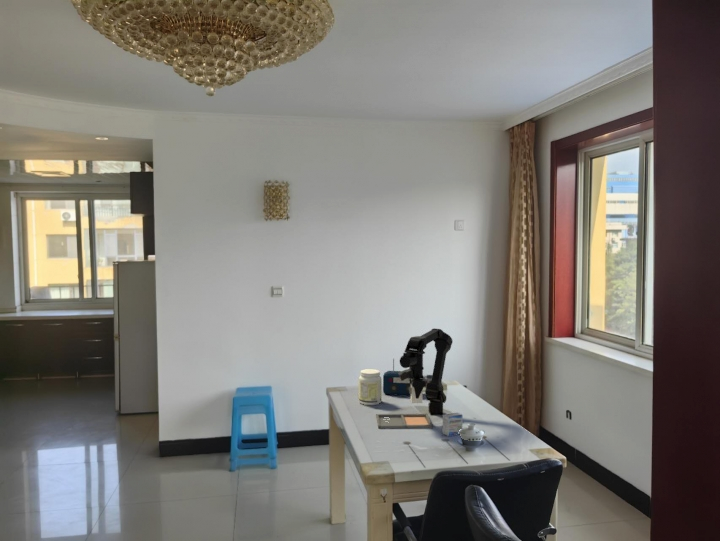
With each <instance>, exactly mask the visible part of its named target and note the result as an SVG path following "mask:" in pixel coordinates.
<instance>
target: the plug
mask: <svg viewBox="0 0 720 541" xmlns="http://www.w3.org/2000/svg"><path fill="white" fill-rule="evenodd" d="M423 391H424V390H422V392H421V394H420V396H419V398H418V399H416V395H415V389H414V387H413V386H412V385H411V387H410V394H411V396H410V402H411V404H423Z"/></svg>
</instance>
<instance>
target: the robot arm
mask: <svg viewBox="0 0 720 541" xmlns="http://www.w3.org/2000/svg"><path fill="white" fill-rule="evenodd" d="M432 342H434V348H435V351H436V354H435V358H434V364H433V369H432V370H433V371H432V375H431V376H432V377H431V380H430V381H429V382H426V380H425V379H424V371H423V370H424V369H425V368H424V354H426V351H424V350H425V349H426V348H427V345H428V344H430V343H432ZM452 345H453V338H452V337H451V335H450V334H448V333H447V332H444V330H443V329H440V328H432V329H431V330H429V331H427V332H426V333H423V334H421V335H420V336H419V335H415V336H411V337H410V338H409V340H408V342H407V344H406V346H405V349H404V352H403V353H402V354H403V355H402V356H400V358H399V364H400V366H401V368H404V370H401V372H399V373H398V374H399V376H400V379H401V381H403V380H405V379H407V378H410V377H411V380H409V381H410V382H411V383H412V384H411V385H412V386H413V387H414V389H415V395H416V399H418V398H419V396H420V394H421V392H422V390H423V389H424V388H425V390H423V391H425V393H424V394H425V399H426V401H428V407H427V408H428V413H429V414H430V415H431V416H443V415H445V414H444V404H445V403H446V401H447V399H448V398H447V395H446V394H445V392H444V389H445V388H444V385H443V383H442V380H443V375H444V369H445V365H446V357H447V353H448V352H449V351H450V350H451V348H452ZM422 393H423V392H422Z"/></svg>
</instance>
